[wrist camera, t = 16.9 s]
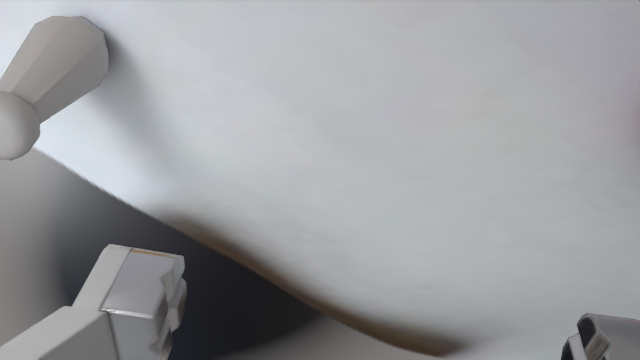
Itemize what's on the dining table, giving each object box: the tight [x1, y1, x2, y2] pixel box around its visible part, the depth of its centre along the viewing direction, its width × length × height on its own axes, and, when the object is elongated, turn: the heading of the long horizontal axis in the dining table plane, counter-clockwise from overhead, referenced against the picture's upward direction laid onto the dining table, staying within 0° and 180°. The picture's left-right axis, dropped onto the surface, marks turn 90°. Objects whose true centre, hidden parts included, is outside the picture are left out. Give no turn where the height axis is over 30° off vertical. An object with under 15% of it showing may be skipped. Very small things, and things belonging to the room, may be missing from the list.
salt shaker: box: [0, 16, 109, 160], centre depth 39 cm, size 6×6×13 cm
